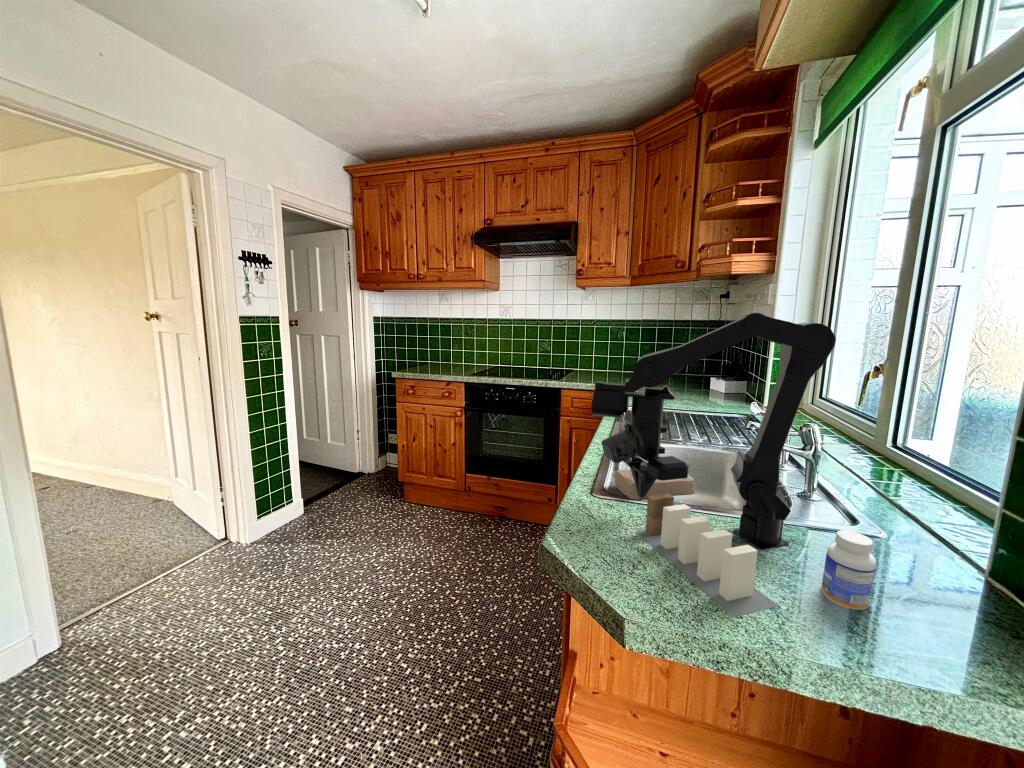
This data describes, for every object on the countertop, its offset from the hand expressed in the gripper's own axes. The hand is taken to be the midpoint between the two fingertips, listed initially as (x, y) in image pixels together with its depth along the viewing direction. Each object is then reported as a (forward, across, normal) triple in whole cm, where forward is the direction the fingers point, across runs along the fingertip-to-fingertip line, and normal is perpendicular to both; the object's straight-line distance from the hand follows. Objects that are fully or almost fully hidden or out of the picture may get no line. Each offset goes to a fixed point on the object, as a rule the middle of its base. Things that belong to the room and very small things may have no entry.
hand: (641, 496), depth 81 cm
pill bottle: (+5, +28, +15) cm, 33 cm away
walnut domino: (+4, +6, 0) cm, 7 cm away
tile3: (+4, +15, 0) cm, 16 cm away
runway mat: (+5, +16, 0) cm, 17 cm away
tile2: (+4, +10, 0) cm, 11 cm away
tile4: (+4, +19, 0) cm, 20 cm away
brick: (+5, -11, +11) cm, 17 cm away
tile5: (+4, +24, 0) cm, 24 cm away
